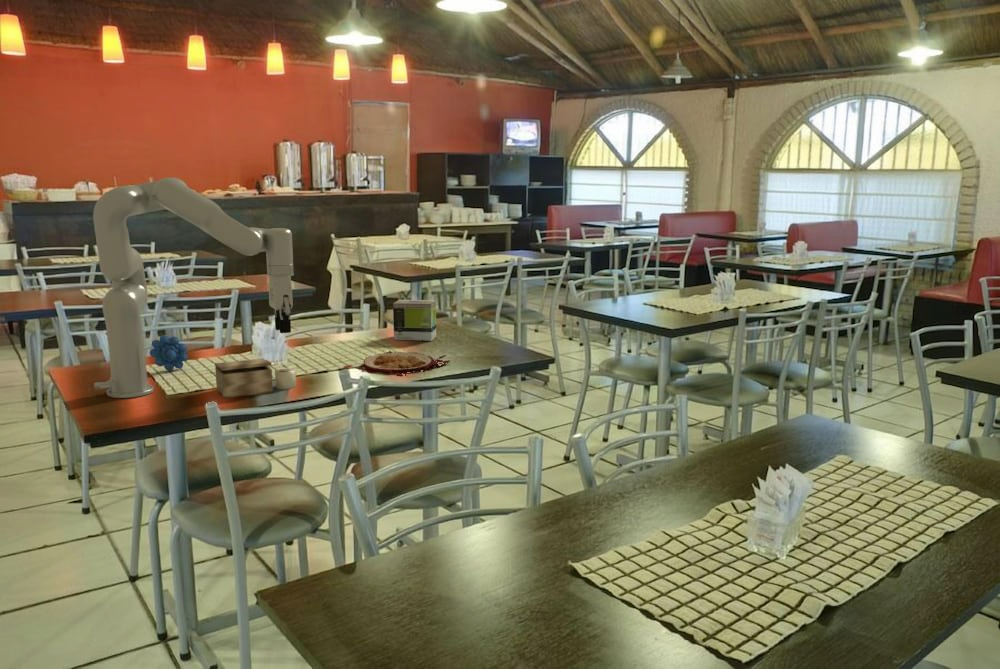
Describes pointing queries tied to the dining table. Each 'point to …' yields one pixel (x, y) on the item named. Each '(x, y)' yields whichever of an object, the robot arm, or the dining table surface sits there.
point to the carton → (244, 381)
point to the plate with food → (398, 362)
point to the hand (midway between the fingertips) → (283, 330)
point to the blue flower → (169, 352)
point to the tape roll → (285, 378)
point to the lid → (242, 364)
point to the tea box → (414, 320)
